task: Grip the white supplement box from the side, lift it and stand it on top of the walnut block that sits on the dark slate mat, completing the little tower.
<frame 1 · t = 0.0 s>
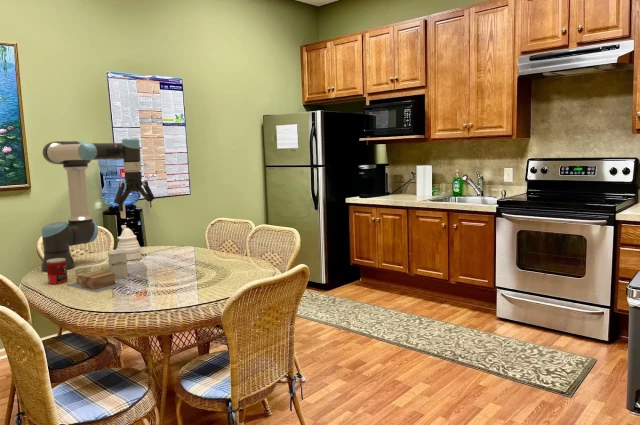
hand: (136, 216, 233), 28 cm above the table, tool pointing down, fingers open, 13 cm apart
supplement box: (119, 278, 230), on the table
slate mat: (95, 286, 217), on the table
canned food: (58, 283, 223), on the table
honey pot: (129, 257, 276), on the table
maple cube: (83, 283, 220), resting on slate mat
walnut block: (98, 285, 215), resting on slate mat
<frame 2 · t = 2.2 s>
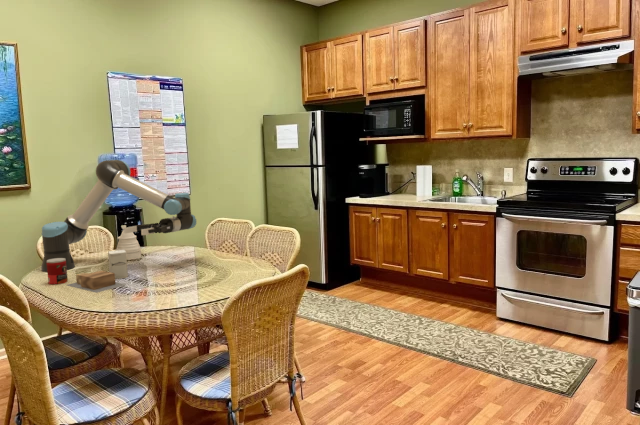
hand: (133, 231, 235), 21 cm above the table, tool horizontal, fingers open, 13 cm apart
nothing on the table moved.
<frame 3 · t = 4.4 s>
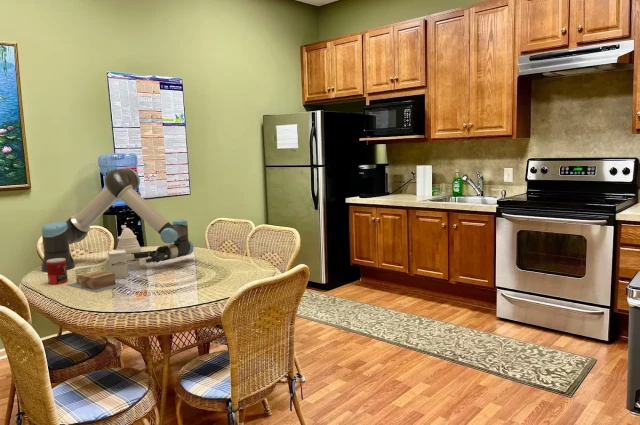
hand: (130, 260, 235), 7 cm above the table, tool horizontal, fingers open, 13 cm apart
nothing on the table moved.
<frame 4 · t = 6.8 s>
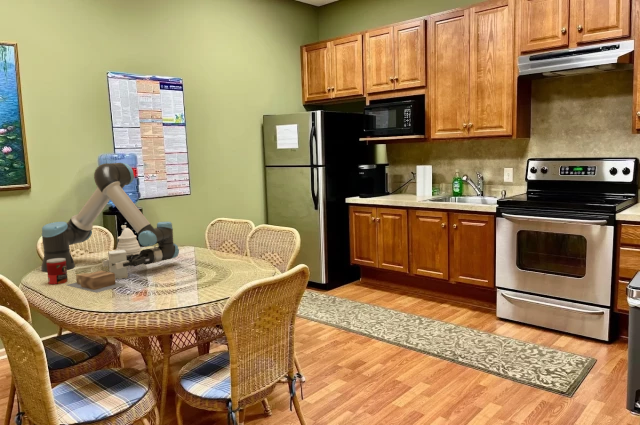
hand: (109, 265, 226), 7 cm above the table, tool horizontal, fingers closed on supplement box, 9 cm apart
supplement box: (119, 278, 230), on the table, touching gripper
everything else where it was.
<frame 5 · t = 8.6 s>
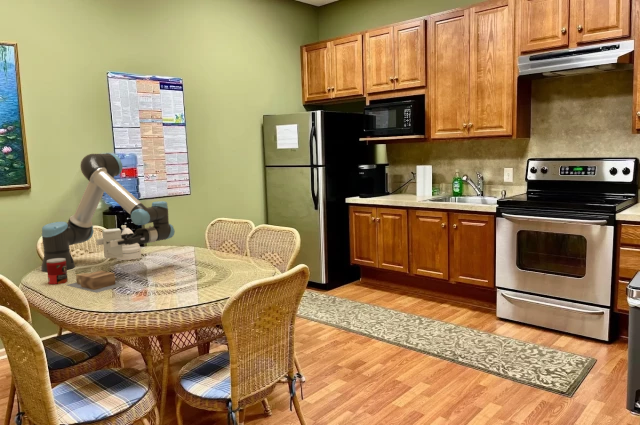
hand: (103, 243, 221), 18 cm above the table, tool horizontal, fingers closed on supplement box, 9 cm apart
supplement box: (113, 257, 225), point 11 cm above the table, touching gripper
everything else where it was.
when the fingers open (14 cm above the table, at t = 10.5 s): supplement box drops 1 cm, resting on walnut block.
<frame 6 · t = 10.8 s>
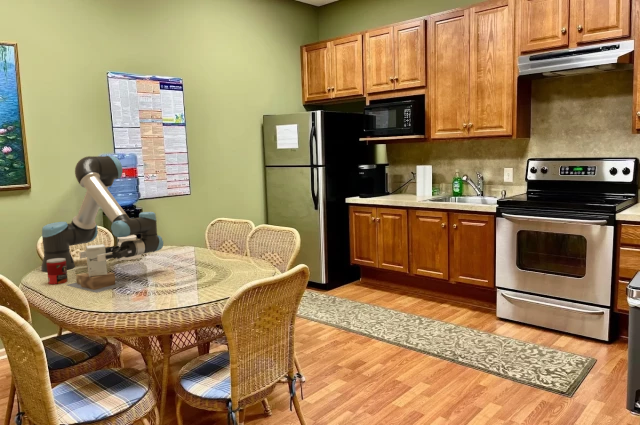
hand: (88, 256, 211), 14 cm above the table, tool horizontal, fingers open, 13 cm apart
supplement box: (97, 274, 215), point 5 cm above the table, touching walnut block
everything else where it was.
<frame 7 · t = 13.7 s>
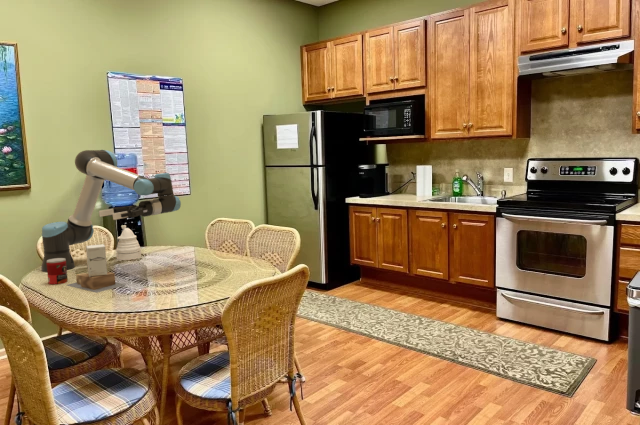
hand: (106, 215, 221), 30 cm above the table, tool horizontal, fingers open, 13 cm apart
nothing on the table moved.
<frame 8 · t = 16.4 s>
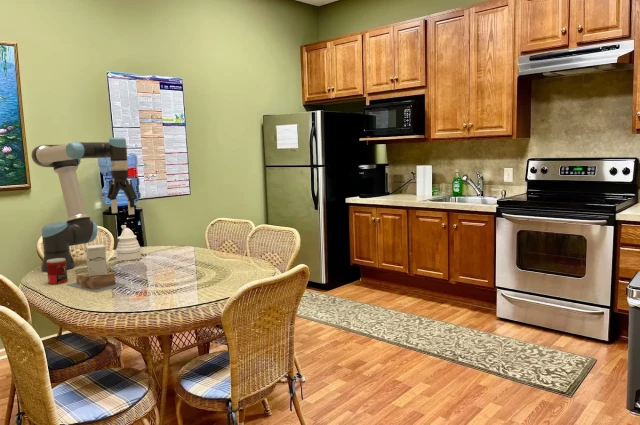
hand: (123, 213, 239), 29 cm above the table, tool pointing down, fingers open, 13 cm apart
nothing on the table moved.
at the end: supplement box inside the target area on the walnut block (0.1 cm from its centre), point 4.8 cm above the walnut block's base; supplement box tilted 0°; the gripper is holding nothing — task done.
